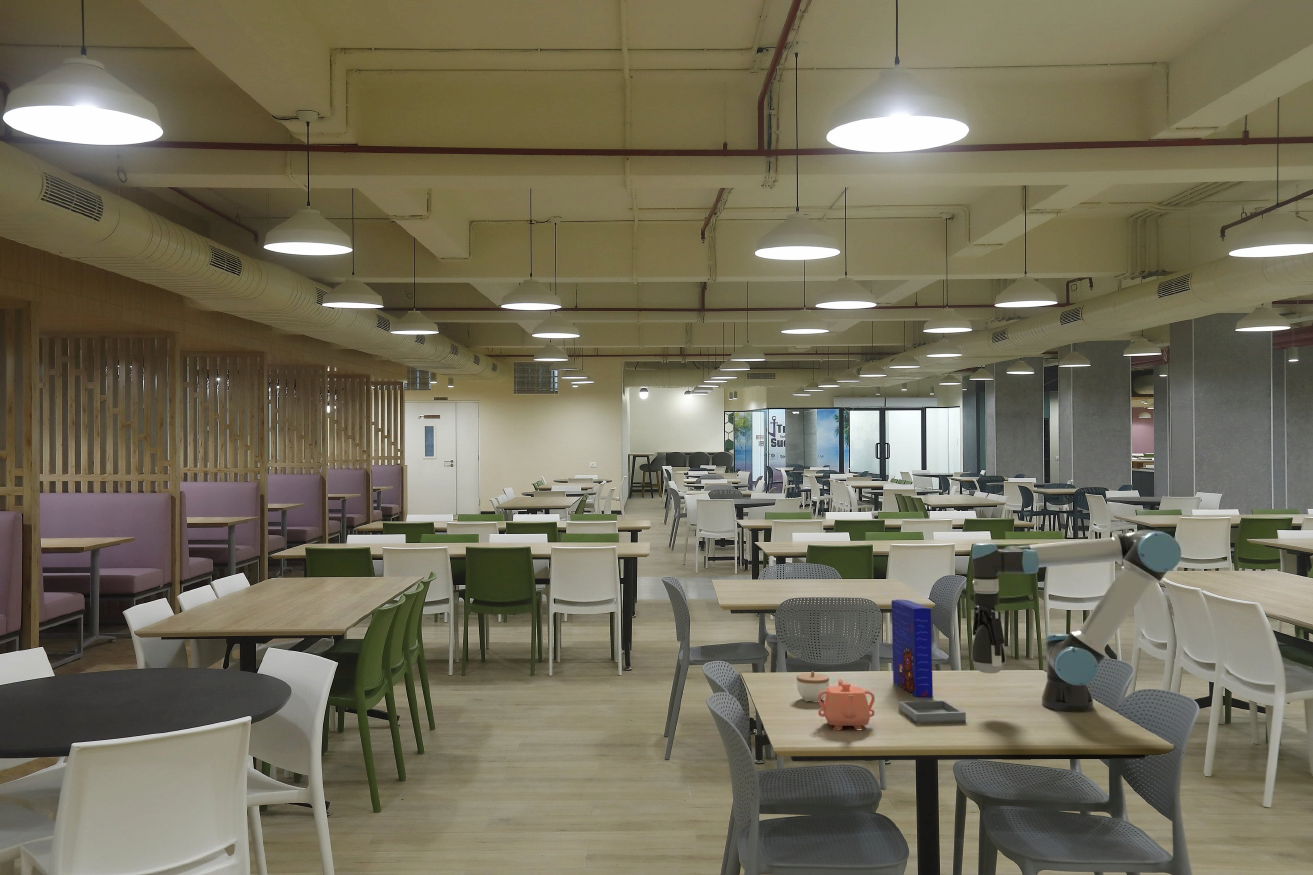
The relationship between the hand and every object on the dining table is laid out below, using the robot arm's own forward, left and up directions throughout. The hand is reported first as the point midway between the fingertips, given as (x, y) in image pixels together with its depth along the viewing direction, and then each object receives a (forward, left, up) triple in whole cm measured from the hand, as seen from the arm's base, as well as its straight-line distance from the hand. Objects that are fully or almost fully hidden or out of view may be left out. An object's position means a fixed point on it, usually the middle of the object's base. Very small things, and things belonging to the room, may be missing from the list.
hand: (989, 662), depth 285 cm
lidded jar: (+51, -22, -16) cm, 58 cm away
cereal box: (+13, -32, -16) cm, 38 cm away
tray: (+20, +3, -16) cm, 26 cm away
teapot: (+49, +10, -16) cm, 53 cm away
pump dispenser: (0, 0, -3) cm, 3 cm away
